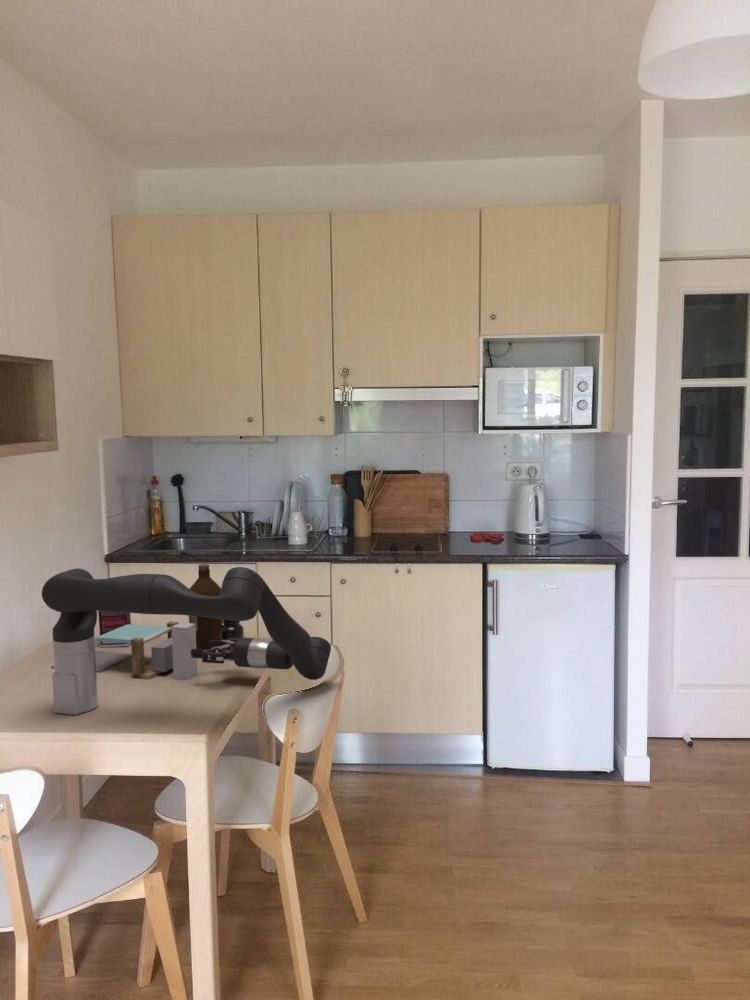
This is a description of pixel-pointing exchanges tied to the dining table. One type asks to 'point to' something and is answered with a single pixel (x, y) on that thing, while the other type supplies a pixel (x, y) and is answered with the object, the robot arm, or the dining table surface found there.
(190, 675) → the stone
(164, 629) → the teal topped platform
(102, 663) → the mat
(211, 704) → the dining table surface
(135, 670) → the stand
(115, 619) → the supplement box
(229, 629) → the supplement bottle
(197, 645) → the olive oil
